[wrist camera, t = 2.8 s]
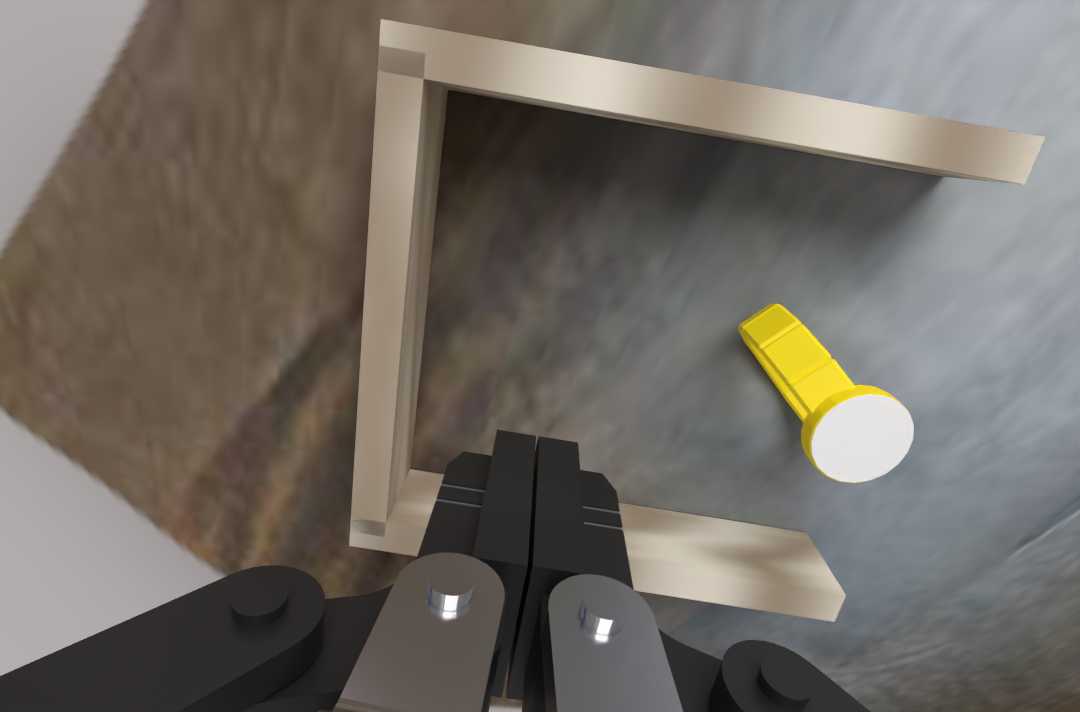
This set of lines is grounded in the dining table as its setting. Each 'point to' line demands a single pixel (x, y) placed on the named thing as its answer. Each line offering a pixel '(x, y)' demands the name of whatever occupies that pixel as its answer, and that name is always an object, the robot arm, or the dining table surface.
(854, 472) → the watch
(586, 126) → the dining table surface
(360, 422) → the open wooden frame
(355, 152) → the dining table surface
